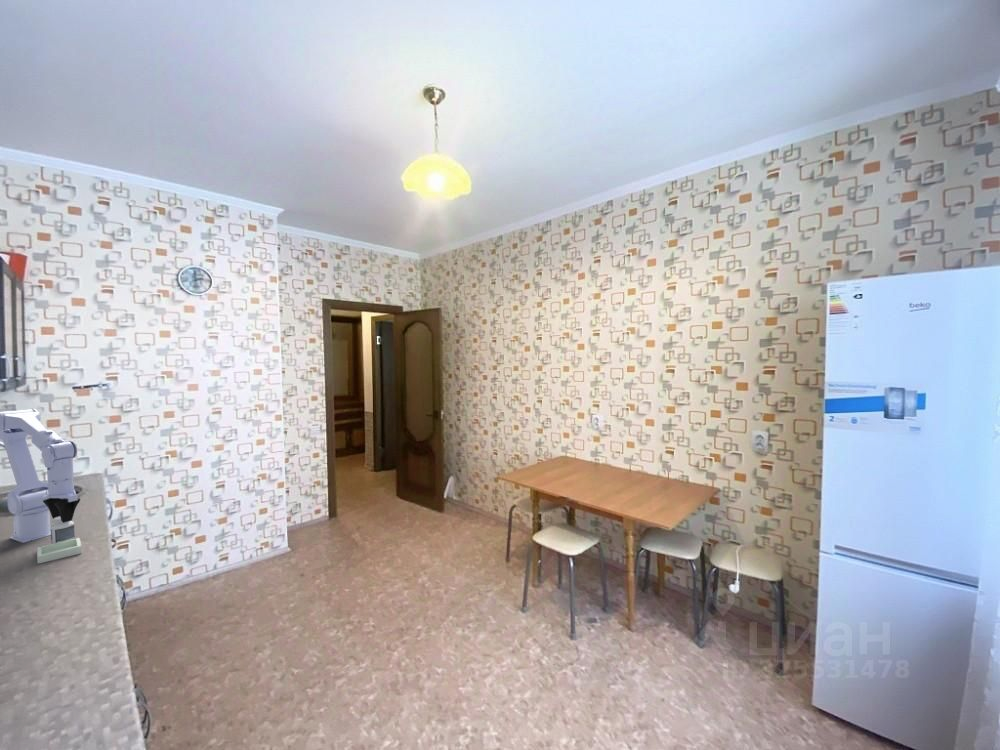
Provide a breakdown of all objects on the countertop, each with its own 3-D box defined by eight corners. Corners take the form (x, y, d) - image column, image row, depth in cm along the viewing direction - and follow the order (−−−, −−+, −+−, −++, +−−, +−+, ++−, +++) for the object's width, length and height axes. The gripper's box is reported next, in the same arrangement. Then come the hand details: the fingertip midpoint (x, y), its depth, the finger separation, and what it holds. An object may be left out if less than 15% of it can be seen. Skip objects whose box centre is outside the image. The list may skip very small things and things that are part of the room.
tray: (37, 554, 124) (37, 547, 124) (80, 544, 131) (79, 537, 131) (37, 564, 118) (37, 556, 118) (81, 553, 125) (81, 545, 125)
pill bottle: (79, 540, 134) (78, 514, 134) (61, 547, 129) (60, 520, 129) (65, 539, 135) (64, 513, 134) (46, 547, 129) (45, 520, 129)
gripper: (31, 480, 130) (33, 521, 130) (55, 485, 125) (57, 528, 125) (61, 474, 136) (63, 513, 137) (85, 479, 131) (87, 519, 132)
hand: (62, 520), depth 132 cm, fingers open, 5 cm apart
